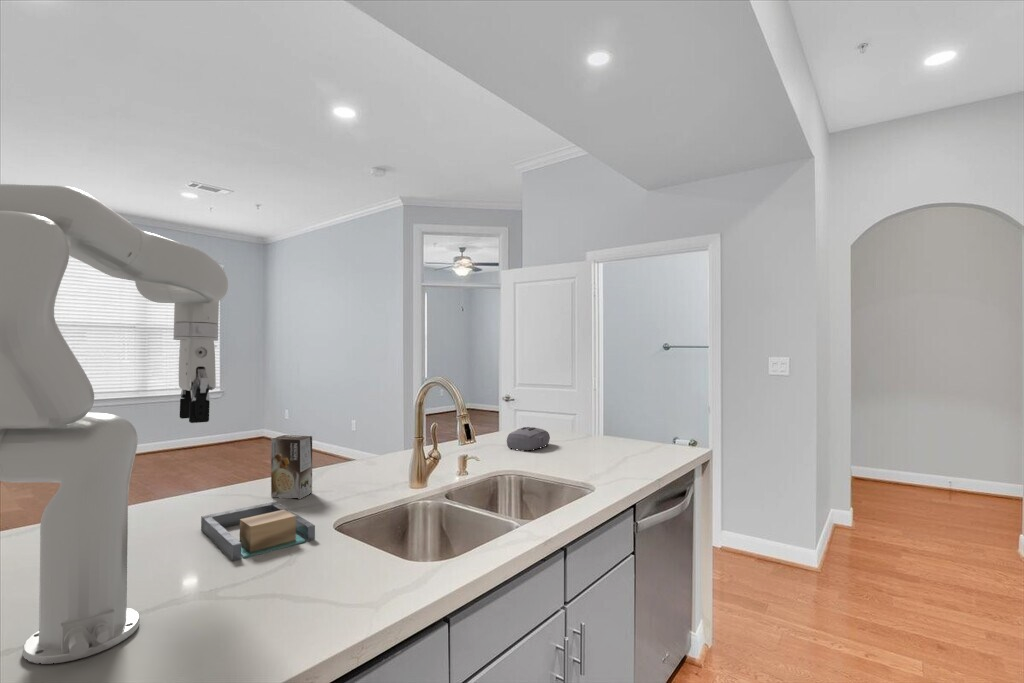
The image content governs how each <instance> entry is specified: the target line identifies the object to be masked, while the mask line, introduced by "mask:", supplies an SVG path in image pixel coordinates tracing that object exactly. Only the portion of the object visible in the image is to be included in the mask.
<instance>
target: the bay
mask: <svg viewBox="0 0 1024 683" xmlns="http://www.w3.org/2000/svg"><path fill="white" fill-rule="evenodd" d="M280 510H286V511H288V512H289V513H291V514H293V515H295V516H296V540H292V541H289V542H285V543H281V544H278V545H274V546H270V547H267V548H263V549H259V550H255V551H252V552H250V551H249V550H247V549H246V548H245V547H243V546H242V545H241V543H240V540H239V539H237V538H236V537H235V536H234V535H233V534H231V533H230V532H229V531H228V530H227V529H226V528H229V527H233V526H239V525H240V519H244V518H248V517H253V516H257V515H262V514H266V513H271V512H275V511H280ZM200 530H201V531H202V532H203V534H204V535H206V536H207V537H208V538H209V539H210V540H211V541H212V543H213V544H215V545H216V546H217V547H218V548H219V549H220V550H221V551H222V552H223V554H225V555H226V556H227V557H228V558H229V559H230V560H231V561H232V562H234V561H238V560H242V558H243V559H245V558H250V557H254V556H257V555H260V554H261V555H262V554H265V553H269V552H272V551H276V550H281V549H283V548H287V547H292V546H295V545H299V544H303V543H306V541H307V542H311V541H314V540H316V525H315V524H313V523H312V522H310V521H309V520H307V519H305V518H303V517H302V516H301V515H298V514H297V513H295V512H294V511H292V510H290V509H289V508H287V507H285V506H283V505H282V504H281V503H279V502H277V501H272V502H265V503H261V504H256V505H252V506H251V505H250V506H246V507H241V508H237V509H236V508H235V509H232V510H226V511H222V512H216V513H212V514H207V515H202V516H201V517H200Z"/></svg>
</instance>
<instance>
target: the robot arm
mask: <svg viewBox="0 0 1024 683" xmlns="http://www.w3.org/2000/svg"><path fill="white" fill-rule="evenodd" d="M70 257H71V258H73V259H76V260H78V261H80V262H82V263H83V264H86V265H88V266H90V267H92V268H94V269H95V270H98V272H99V271H100V272H101V273H103V274H105V275H107V276H110V277H112V278H117V279H121V280H126V281H132V282H134V283H135V288H136V289H137V291H138V293H139V294H140V295H141V296H142V297H143V298H145V299H146V300H148V301H150V302H154V303H160V304H173V305H174V307H173V308H174V309H173V310H174V311H173V312H174V314H173V340H174V341H179V353H178V354H179V356H178V387H179V389H181V392H180V399H179V418H180V419H188V422H189V423H191V424H195V423H196V424H197V423H208V422H209V421H210V391H213V390H214V389H215V388H216V387H217V386H216V385H217V383H216V380H217V379H216V378H217V377H216V376H217V375H216V373H217V372H216V349H215V342H218V341H219V319H220V318H219V316H220V315H219V314H220V313H219V312H220V311H219V310H220V309H219V308H220V302H221V300H223V299H224V298H225V296H226V295H227V293H228V288H229V281H228V277H227V275H226V272H225V271H224V269H223V267H222V266H221V265H220V263H218V262H217V261H216V260H215V259H213V258H212V257H211V256H209V255H208V254H207V253H205V252H203V251H202V250H200V249H198V248H195V247H194V246H190V245H188V244H185V243H182V242H179V241H177V240H172V239H170V238H167V237H164V236H161V235H158V234H156V233H151V232H148V231H145V230H143V229H141V228H139V227H138V226H136V225H134V224H133V223H132V222H131V221H129V220H128V219H126V218H125V217H123V216H122V215H121V214H119V213H117V212H116V211H114V210H113V209H112V208H110V207H109V206H108V205H106V204H104V203H103V202H102V201H100V200H99V199H97V197H96V198H95V197H94V196H92V195H91V194H89V193H88V192H85V191H83V190H81V189H78V188H76V187H71V186H64V185H49V184H48V185H47V184H45V185H44V184H41V185H40V184H39V185H38V184H12V183H11V184H10V183H3V184H2V183H0V482H3V483H21V484H22V483H53V484H59V485H60V486H59V488H58V490H57V491H56V492H55V494H54V496H53V497H52V498H51V499H50V501H49V502H48V503H47V505H46V506H45V508H44V510H43V513H42V514H41V515H42V516H41V519H40V524H39V525H40V526H39V529H40V530H39V535H40V536H39V541H40V542H39V595H38V596H39V603H38V604H39V607H38V609H39V611H38V616H39V618H38V631H36V632H35V633H33V634H32V635H30V636H29V638H28V639H26V641H25V642H24V644H23V646H22V655H23V658H24V659H25V660H26V659H27V660H28V661H27V660H26V661H27V662H29V663H34V664H39V663H41V664H40V665H50V664H51V665H52V664H53V663H54V664H61V663H65V662H67V663H68V662H72V661H75V660H79V659H80V660H81V659H83V658H88V657H91V656H93V655H96V654H98V653H101V652H104V651H106V650H108V649H110V648H113V647H114V646H117V645H118V644H120V643H122V642H123V641H125V640H127V639H128V638H129V637H130V636H132V635H133V634H134V633H135V632H136V631H137V630H138V628H139V626H140V621H141V620H140V613H139V612H138V611H136V610H135V609H133V608H128V606H127V605H128V604H127V602H128V595H127V594H128V536H129V535H128V534H129V532H128V530H129V528H128V525H129V524H128V523H129V522H128V520H129V491H130V483H131V482H130V481H131V477H132V471H133V466H134V462H135V458H136V454H137V449H138V440H139V439H138V433H137V430H136V428H135V426H134V425H133V424H132V423H131V422H130V421H129V420H127V419H126V418H124V417H123V416H119V415H116V414H112V413H106V412H105V413H104V412H90V411H91V410H92V408H93V406H94V403H95V392H94V389H93V386H92V383H91V381H90V379H89V377H88V376H87V374H86V372H85V370H84V368H83V367H82V365H81V364H80V362H79V360H78V358H77V357H76V356H75V354H74V352H73V350H72V349H71V348H70V346H69V344H68V342H67V341H66V340H65V338H64V336H63V334H62V332H61V330H60V328H59V327H58V324H57V322H56V318H55V305H56V300H57V296H58V292H59V290H60V286H61V283H62V280H63V278H64V276H65V272H66V270H67V267H68V265H69V260H70ZM54 664H53V665H54Z"/></svg>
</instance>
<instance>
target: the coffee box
mask: <svg viewBox="0 0 1024 683" xmlns="http://www.w3.org/2000/svg"><path fill="white" fill-rule="evenodd" d="M270 442H271V443H270V448H271V449H270V450H271V451H270V452H271V453H270V459H271V460H270V464H271V465H270V466H271V467H270V476H271V477H270V487H271V489H270V490H271V491H270V492H271V493H270V497H271V498H273V497H280V498H279V499H292V498H298V499H297V500H302V499H303V497H304V498H305V496H306V497H307V495H308V496H310V495H311V494H310V493H312V494H313V436H312V435H292V434H291V435H290V434H284V435H279V436H276V437H273V438H271V439H270ZM309 494H310V495H309ZM301 498H302V499H301Z"/></svg>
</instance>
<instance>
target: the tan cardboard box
mask: <svg viewBox="0 0 1024 683" xmlns="http://www.w3.org/2000/svg"><path fill="white" fill-rule="evenodd" d="M292 540H296V516H295V515H293V514H291V513H289V512H288V511H286V510H280V511H275V512H271V513H266V514H262V515H257V516H253V517H248V518H244V519H240V524H239V541H240V543H241V545H242V546H243V547H245V548H246V549H247V550H249V551H250V552H252V551H255V550H259V549H263V548H267V547H270V546H274V545H278V544H281V543H285V542H289V541H292Z"/></svg>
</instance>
